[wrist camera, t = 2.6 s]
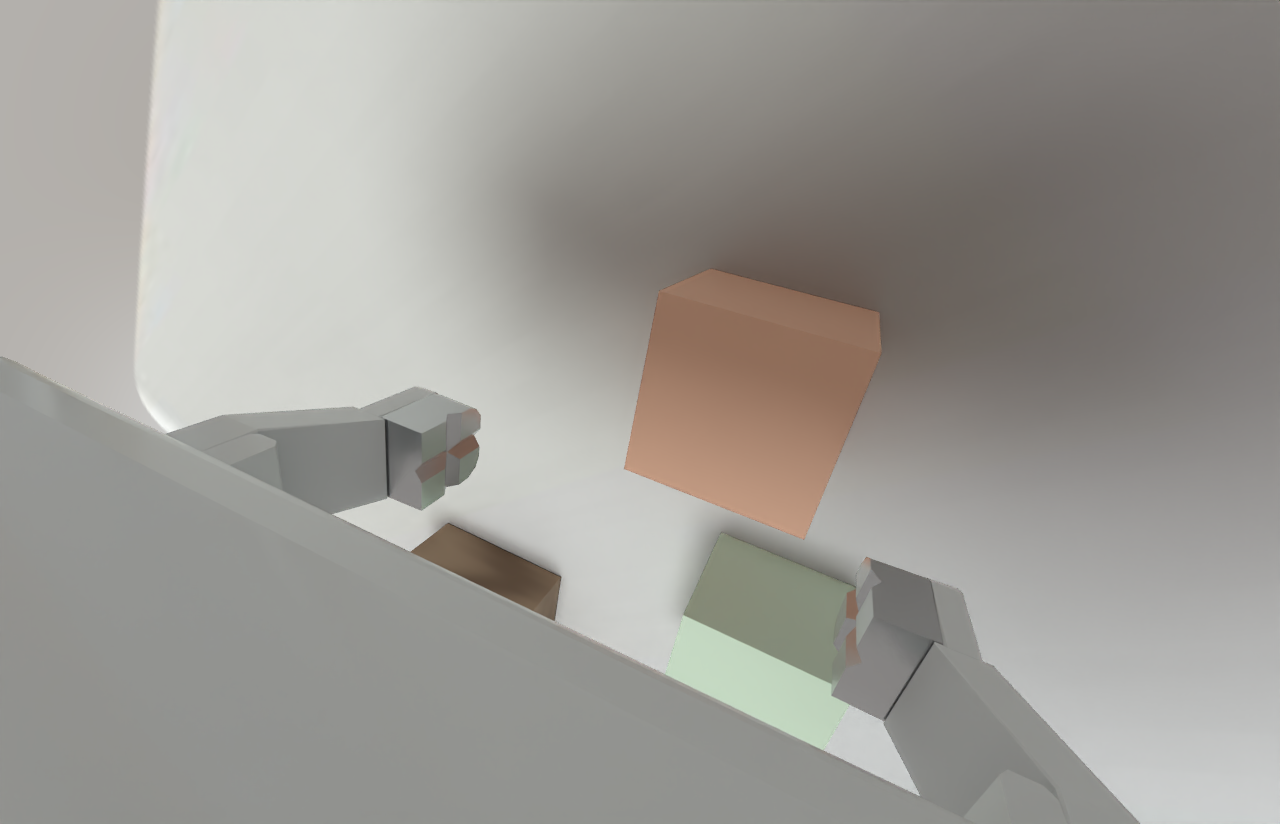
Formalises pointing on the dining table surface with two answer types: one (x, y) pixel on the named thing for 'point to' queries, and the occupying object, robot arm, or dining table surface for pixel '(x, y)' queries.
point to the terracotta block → (750, 394)
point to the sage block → (763, 639)
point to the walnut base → (492, 569)
